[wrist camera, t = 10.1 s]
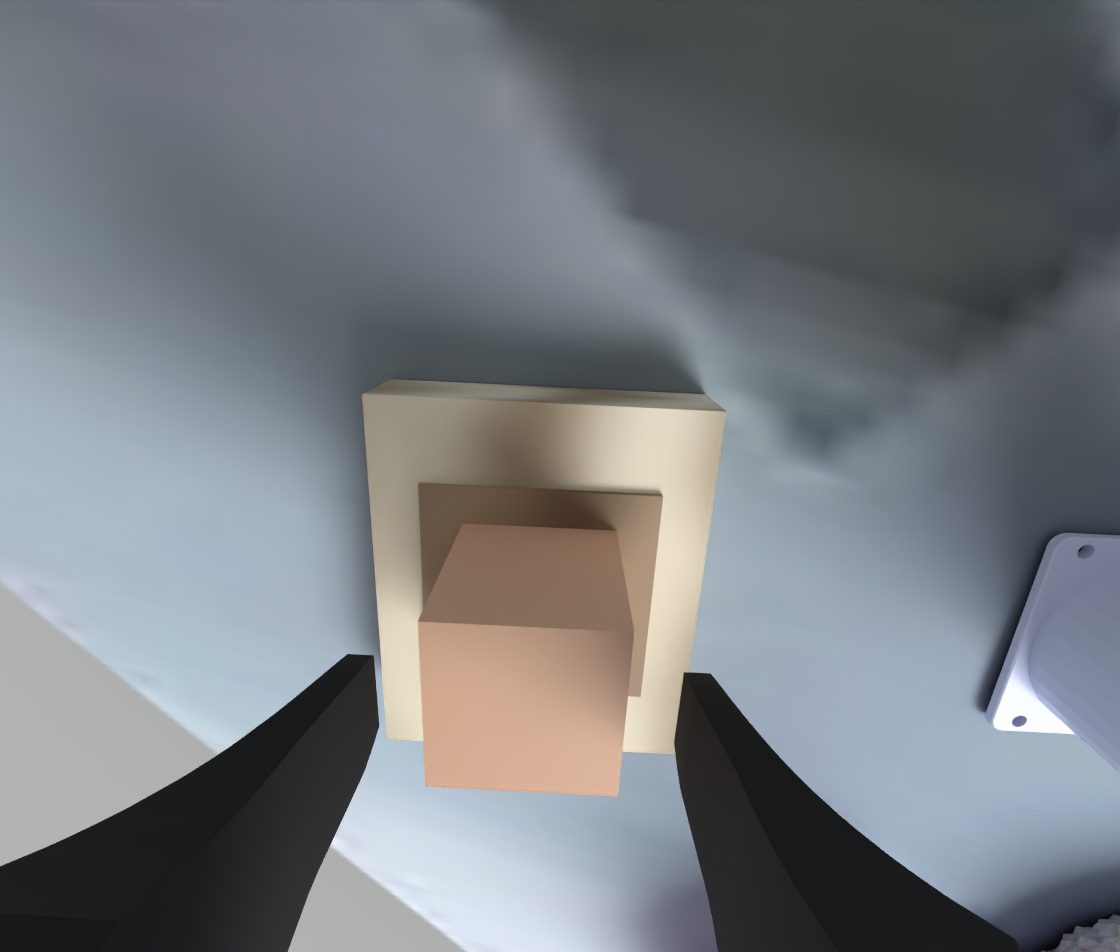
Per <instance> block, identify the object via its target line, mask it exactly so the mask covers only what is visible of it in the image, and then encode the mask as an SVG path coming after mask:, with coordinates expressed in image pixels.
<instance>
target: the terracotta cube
mask: <svg viewBox="0 0 1120 952" xmlns="http://www.w3.org/2000/svg"><path fill="white" fill-rule="evenodd" d="M418 639H419V660H420V681H421V701H422V722H423V743H424V764H425V785H426V787H442V788H462V789H481V790H501V791H520V792H540V793H559V794H579V795H598V796H618V790H619V780H620V770H621V760H622V751H623V741H624V731H625V721H626V711H627V701H628V691H629V681H630V672H631V662H632V652H633V642H634V627H633V621H632V615H631V610H630V604H629V598H628V593H627V587H626V581H625V575H624V570H623V564H622V558H621V553H620V547H619V541H618V536H617V531H611V530H590V529H569V528H548V527H528V526H507V525H486V524H465V523H463V524H462V526H461V528H460V530H459V532H458V535H457V537H456V539H455V541H454V543H453V545H452V548H451V550H450V552H449V554H448V556H447V559H446V561H445V563H444V565H443V567H442V570H441V572H440V574H439V576H438V578H437V580H436V583H435V585H434V587H433V589H432V591H431V594H430V596H429V598H428V600H427V602H426V604H425V607H424V609H423V611H422V613H421V615H420V618H419V620H418Z"/></svg>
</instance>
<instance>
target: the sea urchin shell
mask: <svg viewBox="0 0 1120 952" xmlns="http://www.w3.org/2000/svg"><path fill="white" fill-rule="evenodd" d="M1041 952H1120V916H1119V915H1115V914H1113V915H1112V916H1111V917H1110V918H1109V919H1099V920H1098V922H1097V923H1095V925H1094V926H1093V927H1085V928H1083V927H1079V926H1076V927H1075V930H1074V933H1072V934H1063V938H1062V940H1061V943H1060V944H1059V946H1058V947H1057V948H1056V949H1054V950H1050V951H1044V950H1041Z"/></svg>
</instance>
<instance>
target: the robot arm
mask: <svg viewBox="0 0 1120 952" xmlns="http://www.w3.org/2000/svg"><path fill="white" fill-rule="evenodd" d="M1082 546H1084V547H1083V549H1082V550H1081V551H1080V552H1078V550H1079V549H1080V548H1081V547H1082ZM985 718H986V720H987V721H988V722H989V723H990V725H991V726H992V727H994V728H995V729H997V730H1005V731H1025V732H1044V733H1063V734H1076V735H1077V736H1078V737H1080V738H1081V739H1082V740H1083V741H1084V742H1085V743H1086V744H1087V745H1088V746H1090V747H1091V748H1092V749H1093V750H1094V751H1095V752H1096V753H1097V754H1098V755H1100V756H1101V757H1102V758H1103V759H1104V760H1105V761H1106V762H1107V763H1108V764H1110V765H1111V766H1112V767H1113V768H1114V769H1115V770H1116V771H1117V772H1118V773H1120V535H1100V534H1079V533H1062V534H1059V535H1057V536H1055V537H1054V538H1052V539H1051V540H1050V541H1049V543H1048V545H1047V547H1046V550H1045V553H1044V555H1043V558H1042V561H1041V564H1040V566H1039V569H1038V572H1037V575H1036V577H1035V580H1034V583H1033V585H1032V588H1031V591H1030V594H1029V596H1028V599H1027V602H1026V605H1025V607H1024V610H1023V613H1022V616H1021V618H1020V621H1019V624H1018V626H1017V629H1016V632H1015V635H1014V637H1013V640H1012V643H1011V646H1010V648H1009V651H1008V654H1007V656H1006V659H1005V662H1004V665H1003V667H1002V670H1001V673H1000V676H999V678H998V681H997V684H996V687H995V689H994V692H993V695H992V697H991V700H990V703H989V706H988V708H987V711H986V716H985ZM378 728H379V718H378V705H377V692H376V679H375V666H374V656H373V655H355V654H347V655H346V656H345V657H344V658H342V659H341V660H340V661H339V662H337V663H336V664H335V665H334V666H333V667H331V668H330V669H329V670H328V671H327V672H325V673H324V674H323V675H322V676H321V677H319V678H318V679H317V680H316V681H315V682H313V683H312V684H311V685H310V686H309V687H307V688H306V689H305V690H304V691H303V692H301V693H300V694H299V695H298V696H296V697H295V698H294V699H293V700H292V701H290V702H289V703H288V704H287V705H285V706H284V707H283V708H282V709H280V710H279V711H278V712H277V713H275V714H274V715H273V716H271V717H270V718H269V719H267V720H266V721H265V722H263V723H262V724H260V725H259V726H258V727H256V728H255V729H254V730H252V731H251V732H250V733H248V734H247V735H246V736H244V737H243V738H242V739H240V740H239V741H238V742H236V743H235V744H233V745H232V746H230V747H229V748H227V749H226V750H224V751H223V752H221V753H220V754H219V755H217V756H216V757H214V758H212V759H211V760H209V761H208V762H206V763H205V764H203V765H202V766H200V767H198V768H197V769H195V770H194V771H192V772H190V773H189V774H187V775H185V776H184V777H182V778H180V779H179V780H177V781H175V782H173V783H172V784H170V785H168V786H166V787H165V788H163V789H161V790H159V791H158V792H156V793H154V794H152V795H150V796H148V797H147V798H145V799H143V800H141V801H140V802H138V803H136V804H134V805H132V806H131V807H129V808H127V809H125V810H123V811H121V812H119V813H117V814H115V815H113V816H111V817H109V818H107V819H105V820H103V821H101V822H99V823H97V824H95V825H93V826H91V827H89V828H87V829H85V830H82V831H80V832H78V833H76V834H75V835H72V836H70V837H68V838H66V839H63V840H61V841H59V842H57V843H55V844H52V845H50V846H48V847H46V848H44V849H41V850H38V851H36V852H34V853H32V854H29V855H27V856H24V857H22V858H19V859H17V860H15V861H12V862H10V863H7V864H5V865H3V866H0V952H288V949H289V946H290V943H291V940H292V938H293V935H294V932H295V930H296V927H297V924H298V921H299V919H300V916H301V913H302V910H303V907H304V905H305V902H306V899H307V897H308V894H309V891H310V889H311V887H312V884H313V882H314V879H315V877H316V875H317V872H318V870H319V868H320V866H321V864H322V862H323V859H324V857H325V855H326V853H327V851H328V849H329V847H330V844H331V842H332V840H333V838H334V836H335V834H336V832H337V829H338V827H339V825H340V823H341V821H342V819H343V817H344V814H345V812H346V810H347V808H348V806H349V804H350V801H351V799H352V797H353V795H354V793H355V791H356V788H357V786H358V784H359V782H360V780H361V777H362V775H363V773H364V771H365V768H366V765H367V762H368V759H369V756H370V753H371V750H372V747H373V744H374V741H375V738H376V735H377V731H378ZM674 747H675V754H676V762H677V769H678V776H679V783H680V789H681V793H682V797H683V801H684V805H685V809H686V813H687V817H688V821H689V825H690V829H691V832H692V836H693V840H694V844H695V848H696V852H697V856H698V859H699V863H700V867H701V871H702V875H703V879H704V883H705V887H706V890H707V895H708V899H709V904H710V908H711V913H712V918H713V924H714V930H715V936H716V942H717V948H718V952H1024V951H1023V950H1022V949H1021V947H1020V946H1019V945H1018V943H1017V942H1016V941H1015V939H1014V938H1012V937H1011V936H1009V935H1008V934H1006V933H1004V932H1003V931H1001V930H1000V929H998V928H996V927H995V926H993V925H991V924H990V923H988V922H987V921H985V920H983V919H982V918H980V917H979V916H977V915H975V914H974V913H972V912H971V911H969V910H967V909H966V908H964V907H963V906H961V905H959V904H958V903H956V902H955V901H953V900H951V899H950V898H948V897H947V896H945V895H944V894H942V893H941V892H939V891H938V890H937V889H935V888H934V887H932V886H931V885H929V884H928V883H927V882H925V881H924V880H922V879H921V878H919V877H918V876H917V875H915V874H914V873H912V872H911V871H909V870H908V869H907V868H905V867H904V866H903V865H901V864H900V863H899V862H897V861H896V860H894V859H893V858H892V857H890V856H889V855H888V854H886V853H885V852H884V851H883V850H881V849H880V848H879V847H878V846H876V845H875V844H874V843H873V842H871V841H870V840H869V839H868V838H866V837H865V836H864V835H863V834H861V833H860V832H859V831H858V830H856V829H855V828H854V827H853V826H851V825H850V824H849V823H848V822H847V821H846V820H844V819H843V818H842V817H841V816H840V815H839V814H837V813H836V812H835V811H834V810H833V809H832V808H831V807H830V806H829V805H828V804H826V803H825V802H824V801H823V800H822V799H821V798H820V797H819V796H818V795H817V794H816V793H814V792H813V791H812V790H811V789H810V788H809V787H808V786H807V785H806V784H805V783H804V782H803V781H802V780H801V779H800V778H799V777H798V776H797V775H796V774H795V773H794V772H793V771H792V770H791V769H790V768H789V767H788V766H787V765H786V764H785V762H784V761H783V760H782V759H781V758H780V757H779V756H778V755H777V754H776V753H775V752H774V750H773V749H772V748H771V747H770V746H769V745H768V744H767V742H766V741H765V740H764V739H763V738H762V737H761V735H760V734H759V733H758V732H757V731H756V730H755V729H754V727H753V726H752V725H751V724H750V723H749V721H748V720H747V719H746V718H745V716H744V715H743V714H742V713H741V711H740V710H739V709H738V708H737V706H736V705H735V704H734V703H733V701H732V700H731V699H730V698H729V696H728V695H727V694H726V693H725V691H724V690H723V689H722V687H721V686H720V685H719V684H718V682H717V681H716V680H715V678H714V677H713V676H712V675H711V674H708V673H689V672H684V675H683V682H682V689H681V696H680V703H679V710H678V717H677V724H676V731H675V738H674Z"/></svg>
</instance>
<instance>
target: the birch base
mask: <svg viewBox="0 0 1120 952" xmlns="http://www.w3.org/2000/svg"><path fill="white" fill-rule="evenodd" d="M362 402H363V416H364V430H365V444H366V457H367V471H368V485H369V499H370V513H371V527H372V540H373V554H374V568H375V582H376V596H377V609H378V623H379V637H380V651H381V665H382V678H383V692H384V706H385V720H386V734H387V739H393V740H412V741H423V722H422V701H421V681H420V660H419V639H418V620H419V618H420V615H421V613H422V611H423V609H424V607H425V604H426V602H427V600H428V598H429V596H430V594H431V591H432V589H433V587H434V585H435V583H436V580H437V578H438V576H439V574H440V572H441V570H442V567H443V565H444V563H445V561H446V559H447V556H448V554H449V552H450V550H451V548H452V545H453V543H454V541H455V539H456V537H457V535H458V532H459V530H460V528H461V526H462V524H463V523H465V524H486V525H507V526H528V527H548V528H569V529H590V530H611V531H617V536H618V541H619V547H620V553H621V558H622V564H623V570H624V575H625V581H626V587H627V593H628V598H629V604H630V610H631V615H632V621H633V627H634V642H633V652H632V662H631V672H630V681H629V691H628V701H627V711H626V721H625V731H624V741H623V752H642V753H661V754H675V747H674V738H675V731H676V724H677V717H678V710H679V703H680V696H681V689H682V682H683V675H684V672H689V667H690V661H691V654H692V647H693V640H694V633H695V626H696V619H697V612H698V605H699V599H700V592H701V585H702V578H703V571H704V564H705V557H706V550H707V543H708V536H709V530H710V523H711V516H712V509H713V502H714V495H715V488H716V481H717V474H718V467H719V461H720V454H721V447H722V440H723V433H724V426H725V419H726V411H725V410H724V409H723V408H722V407H720V406H719V405H718V404H717V403H716V402H714V401H713V400H712V399H711V398H710V397H708V396H707V395H706V394H687V393H667V392H646V391H625V390H604V389H584V388H563V387H542V386H522V385H501V384H480V383H460V382H439V381H418V380H397V379H389V380H388V381H386V382H384V383H382V384H380V385H378V386H376V387H374V388H372V389H371V390H369V391H367V392H365V393H363V394H362Z"/></svg>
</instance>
